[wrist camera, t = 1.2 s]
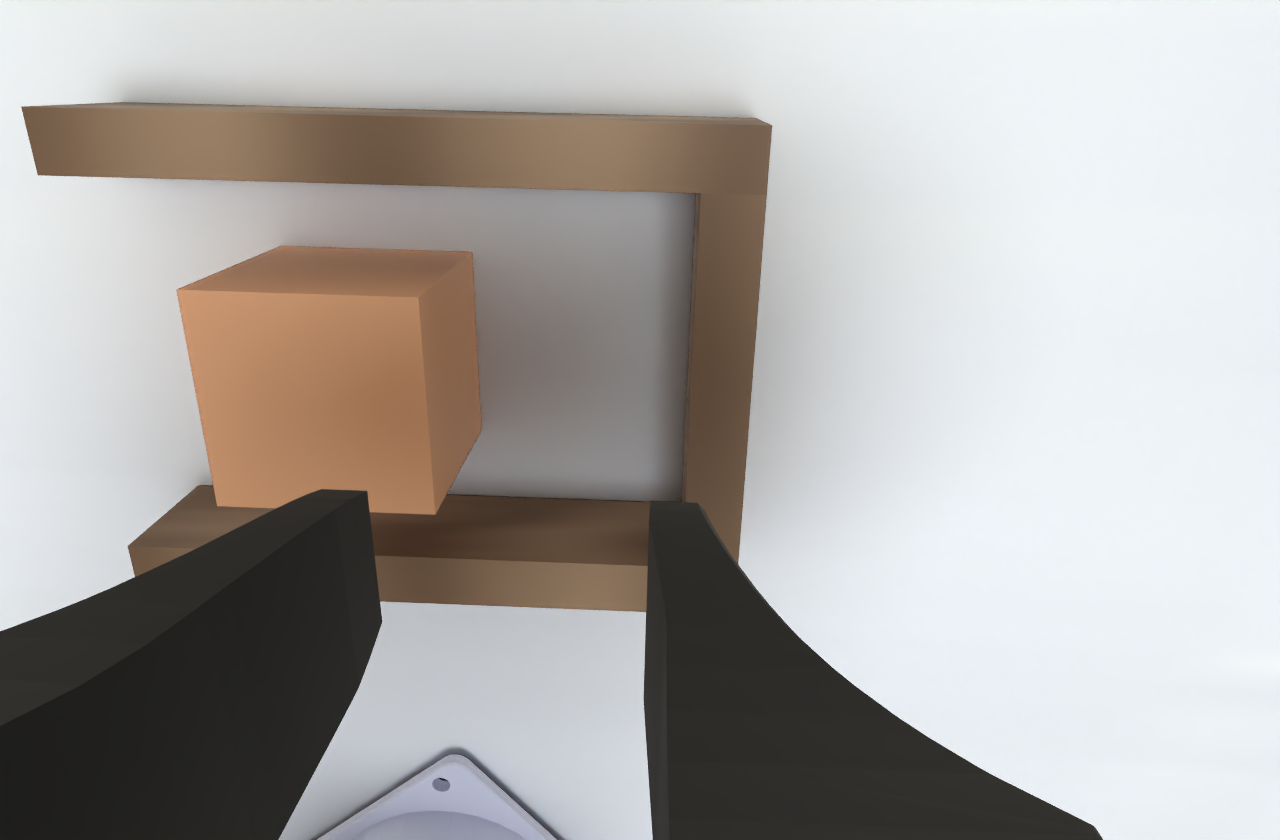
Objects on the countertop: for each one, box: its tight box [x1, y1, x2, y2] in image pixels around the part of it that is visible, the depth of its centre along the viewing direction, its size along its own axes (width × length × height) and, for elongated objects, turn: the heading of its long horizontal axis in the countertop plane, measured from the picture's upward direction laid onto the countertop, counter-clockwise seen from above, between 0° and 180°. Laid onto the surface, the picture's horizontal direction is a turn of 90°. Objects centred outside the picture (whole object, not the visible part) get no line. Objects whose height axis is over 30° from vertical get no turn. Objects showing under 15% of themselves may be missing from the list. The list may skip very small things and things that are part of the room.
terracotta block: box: [177, 246, 482, 515], centre depth 18 cm, size 4×4×4 cm
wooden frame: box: [22, 102, 772, 612], centre depth 18 cm, size 14×10×3 cm
